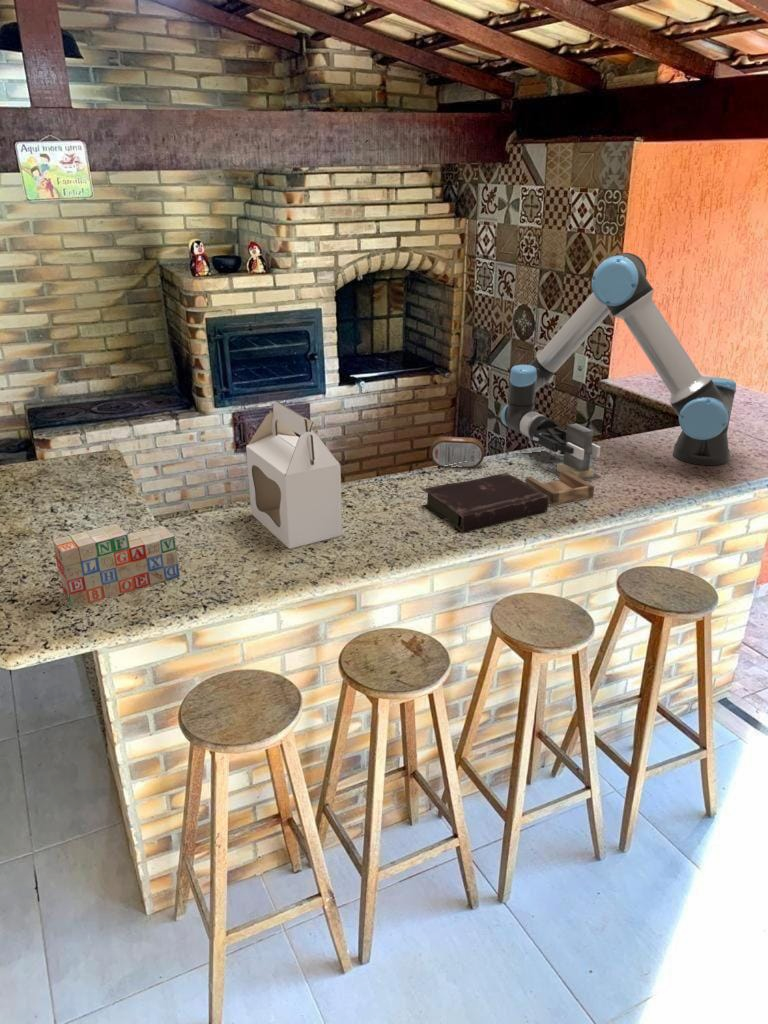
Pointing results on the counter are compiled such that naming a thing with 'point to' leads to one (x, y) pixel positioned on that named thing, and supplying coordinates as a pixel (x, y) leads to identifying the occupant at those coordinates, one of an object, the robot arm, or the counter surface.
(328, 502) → the gable box
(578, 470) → the grey tall block
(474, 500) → the diary
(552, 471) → the mat
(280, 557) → the counter surface
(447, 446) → the tin
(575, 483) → the tray
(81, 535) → the stack of blocks
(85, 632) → the counter surface
